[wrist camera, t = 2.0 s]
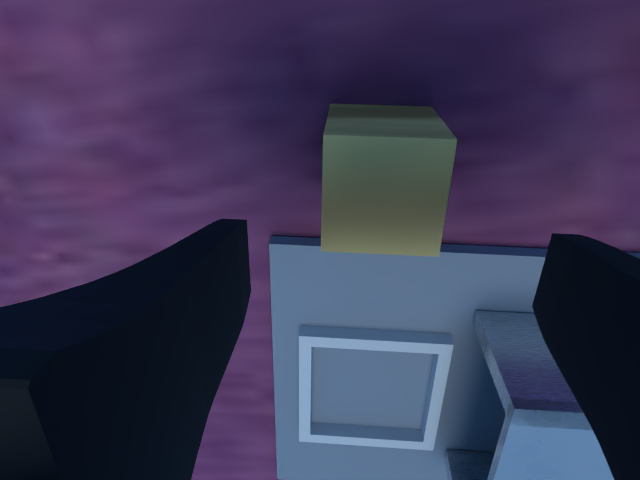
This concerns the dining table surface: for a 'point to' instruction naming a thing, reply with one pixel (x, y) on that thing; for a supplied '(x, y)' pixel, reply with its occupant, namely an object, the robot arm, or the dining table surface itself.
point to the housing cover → (529, 411)
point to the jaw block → (385, 179)
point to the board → (387, 356)
